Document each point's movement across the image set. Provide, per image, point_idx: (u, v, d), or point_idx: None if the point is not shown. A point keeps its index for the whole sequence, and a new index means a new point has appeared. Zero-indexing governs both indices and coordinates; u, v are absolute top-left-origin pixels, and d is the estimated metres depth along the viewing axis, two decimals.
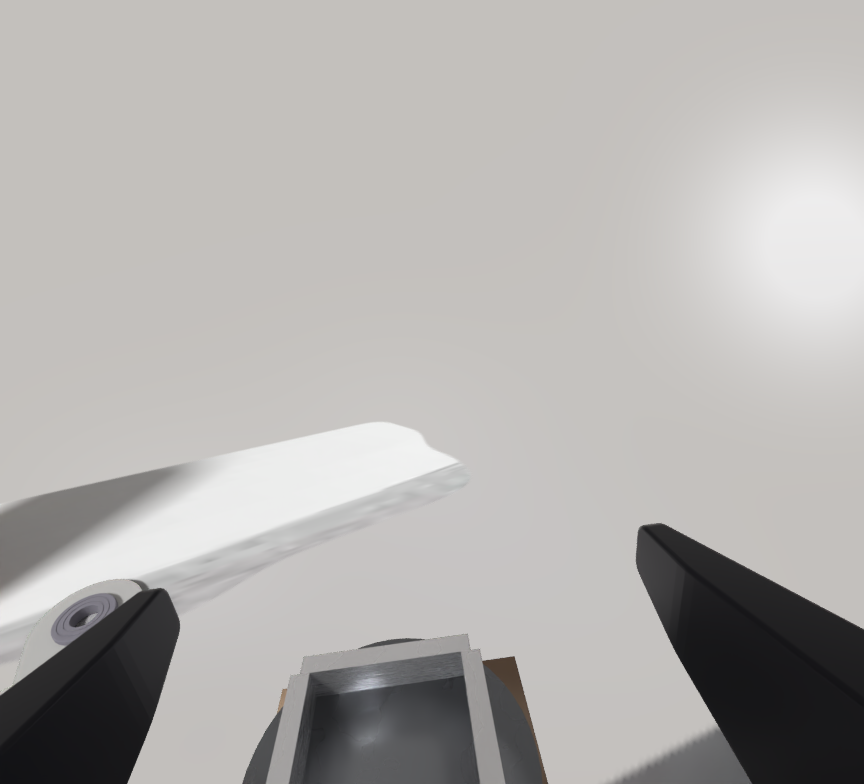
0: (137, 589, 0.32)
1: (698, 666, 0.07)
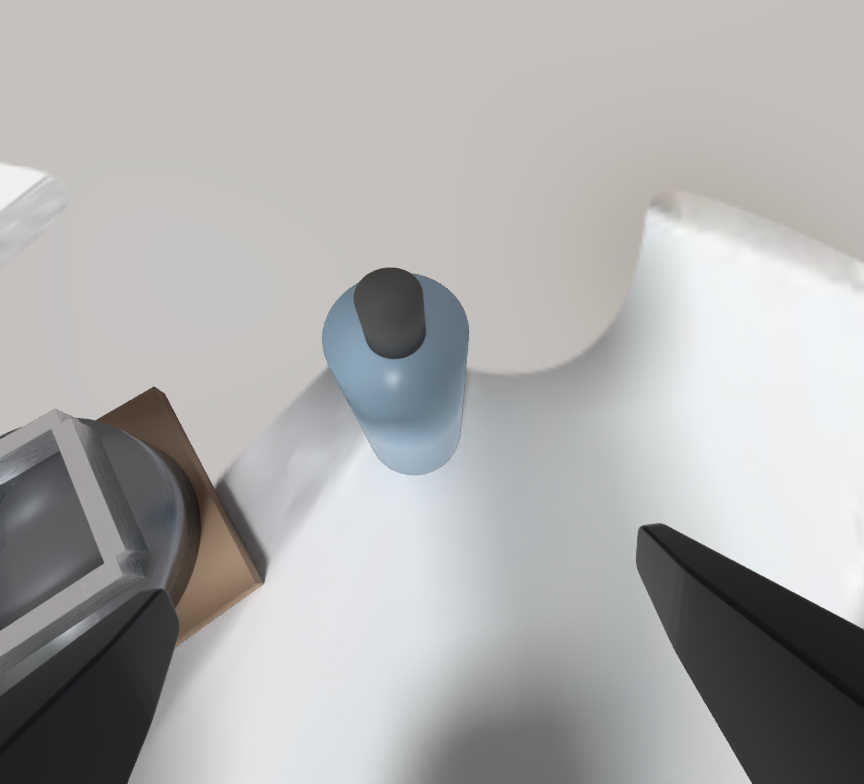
0: None
1: (698, 666, 0.07)
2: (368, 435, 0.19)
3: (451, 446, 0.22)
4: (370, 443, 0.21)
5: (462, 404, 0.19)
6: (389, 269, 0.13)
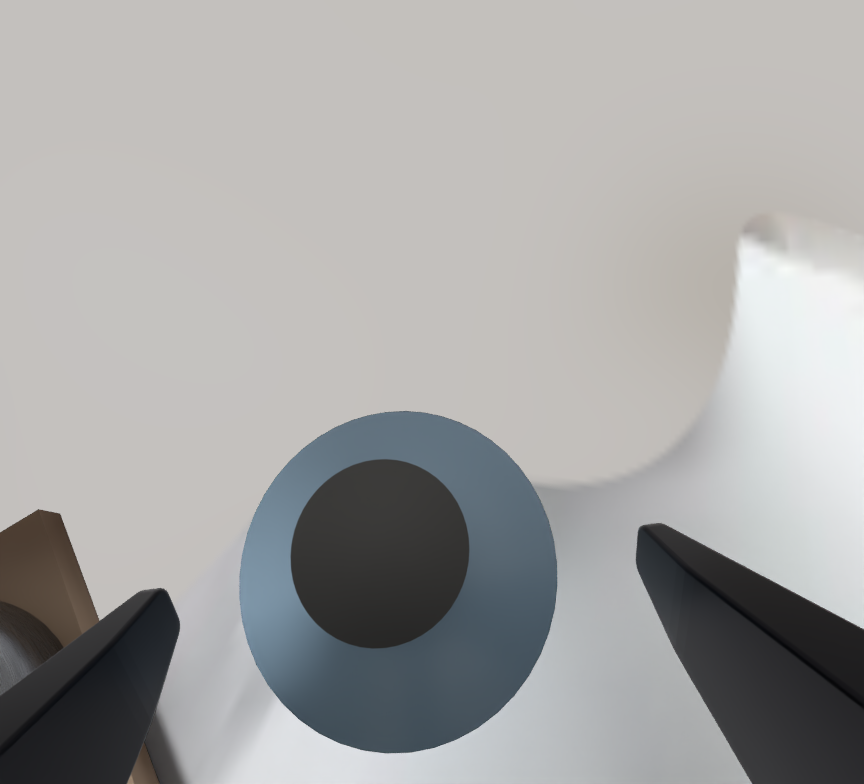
0: None
1: (698, 666, 0.07)
2: None
3: None
4: None
5: None
6: (383, 463, 0.05)
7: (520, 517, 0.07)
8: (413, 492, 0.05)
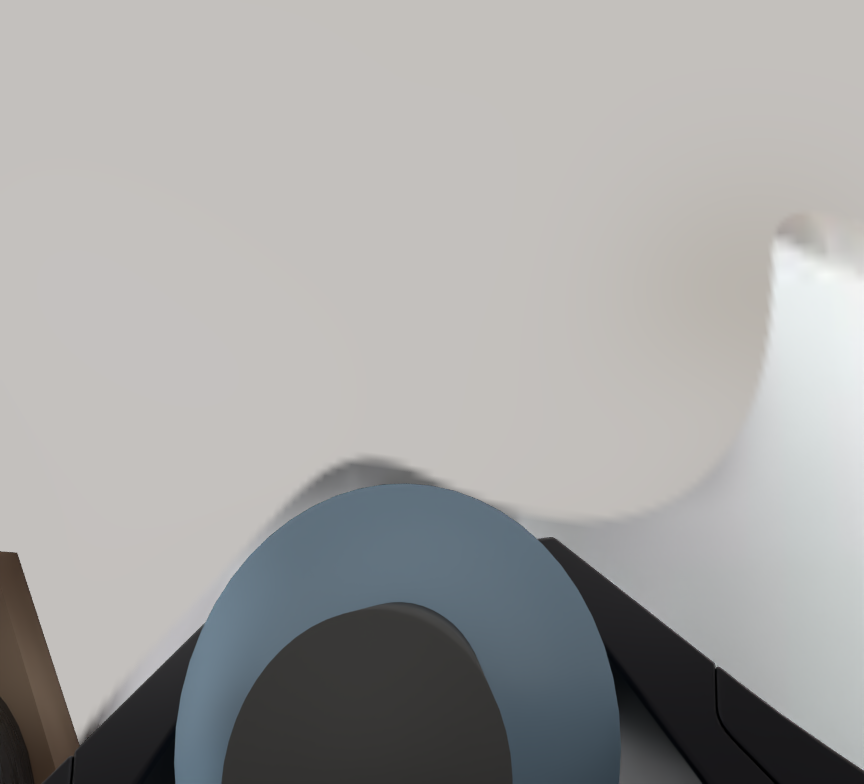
0: None
1: None
2: None
3: None
4: None
5: None
6: (373, 617, 0.04)
7: (565, 641, 0.05)
8: (420, 670, 0.03)
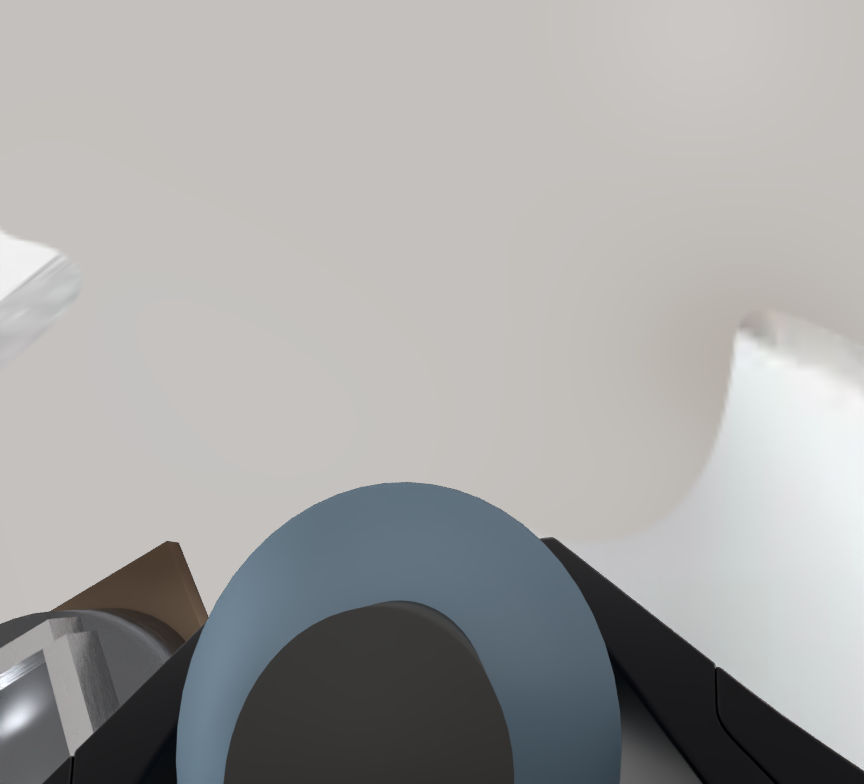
0: None
1: None
2: None
3: None
4: None
5: None
6: (374, 614, 0.04)
7: (566, 640, 0.05)
8: (422, 667, 0.03)
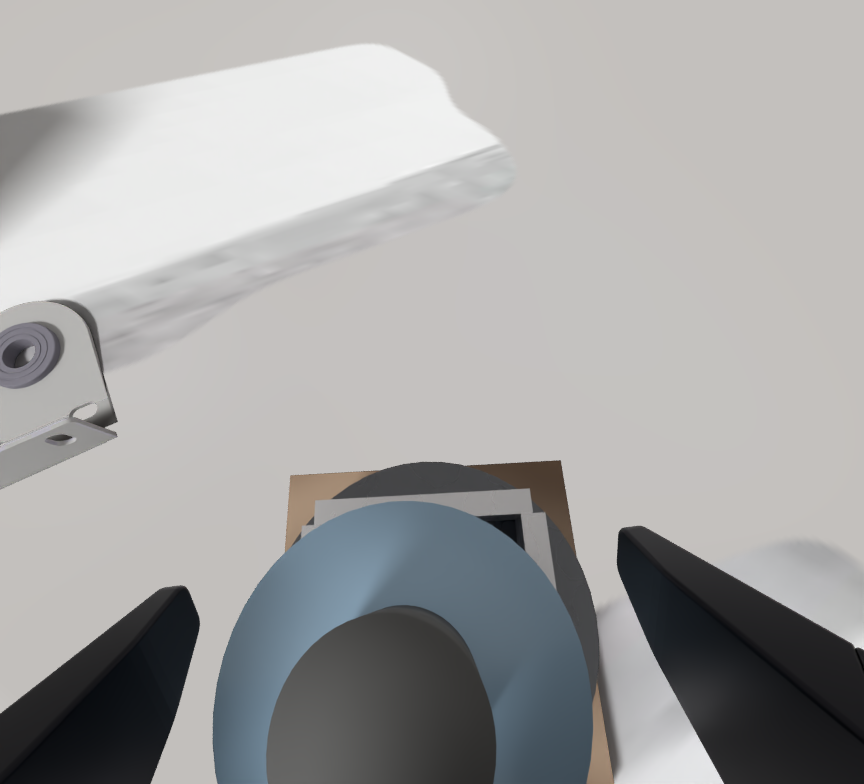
0: (76, 318, 0.24)
1: (674, 669, 0.07)
2: None
3: None
4: None
5: None
6: (385, 619, 0.04)
7: (547, 639, 0.06)
8: (423, 662, 0.04)
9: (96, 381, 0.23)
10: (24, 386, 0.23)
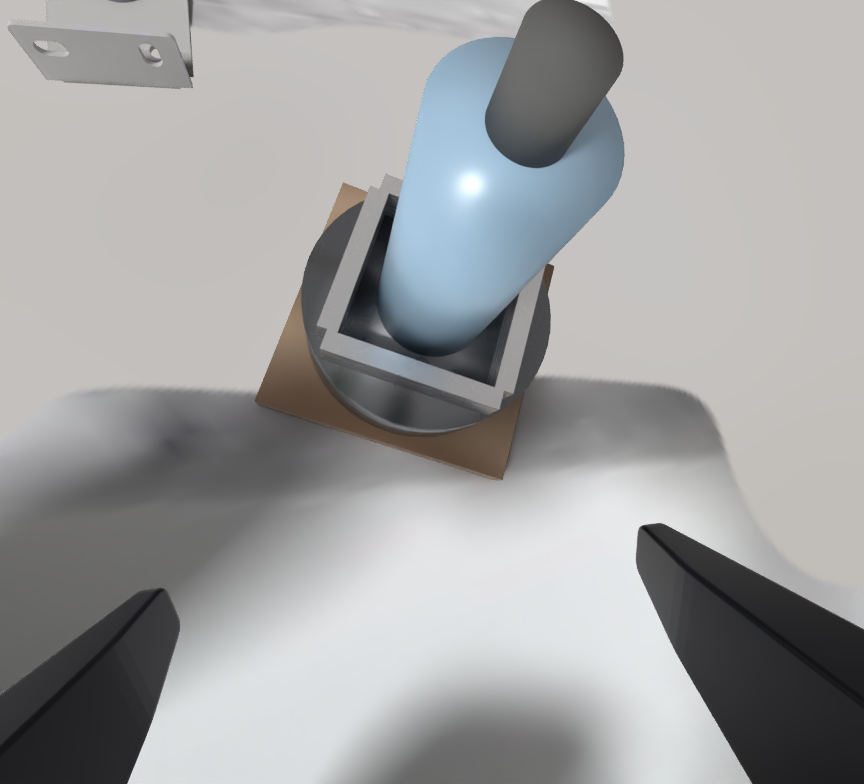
0: None
1: (698, 666, 0.07)
2: (396, 275, 0.15)
3: (475, 335, 0.18)
4: (385, 291, 0.17)
5: None
6: (585, 8, 0.08)
7: (609, 144, 0.10)
8: (599, 30, 0.08)
9: (183, 29, 0.24)
10: None
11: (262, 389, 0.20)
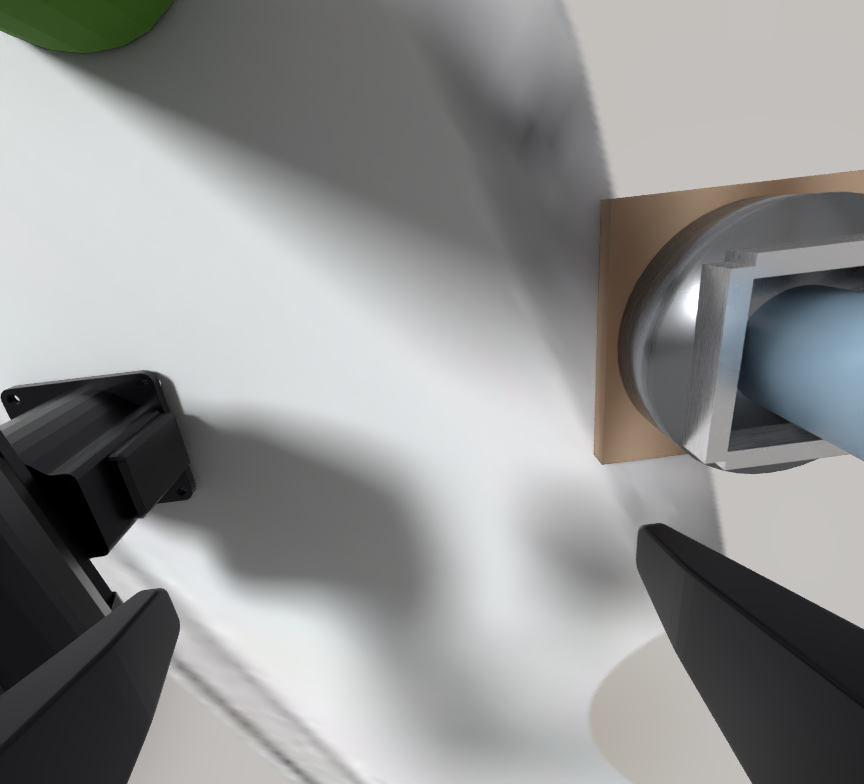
0: None
1: (698, 666, 0.07)
2: None
3: (783, 417, 0.16)
4: (825, 315, 0.14)
5: None
6: None
7: None
8: None
9: None
10: None
11: (626, 201, 0.18)
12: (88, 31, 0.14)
